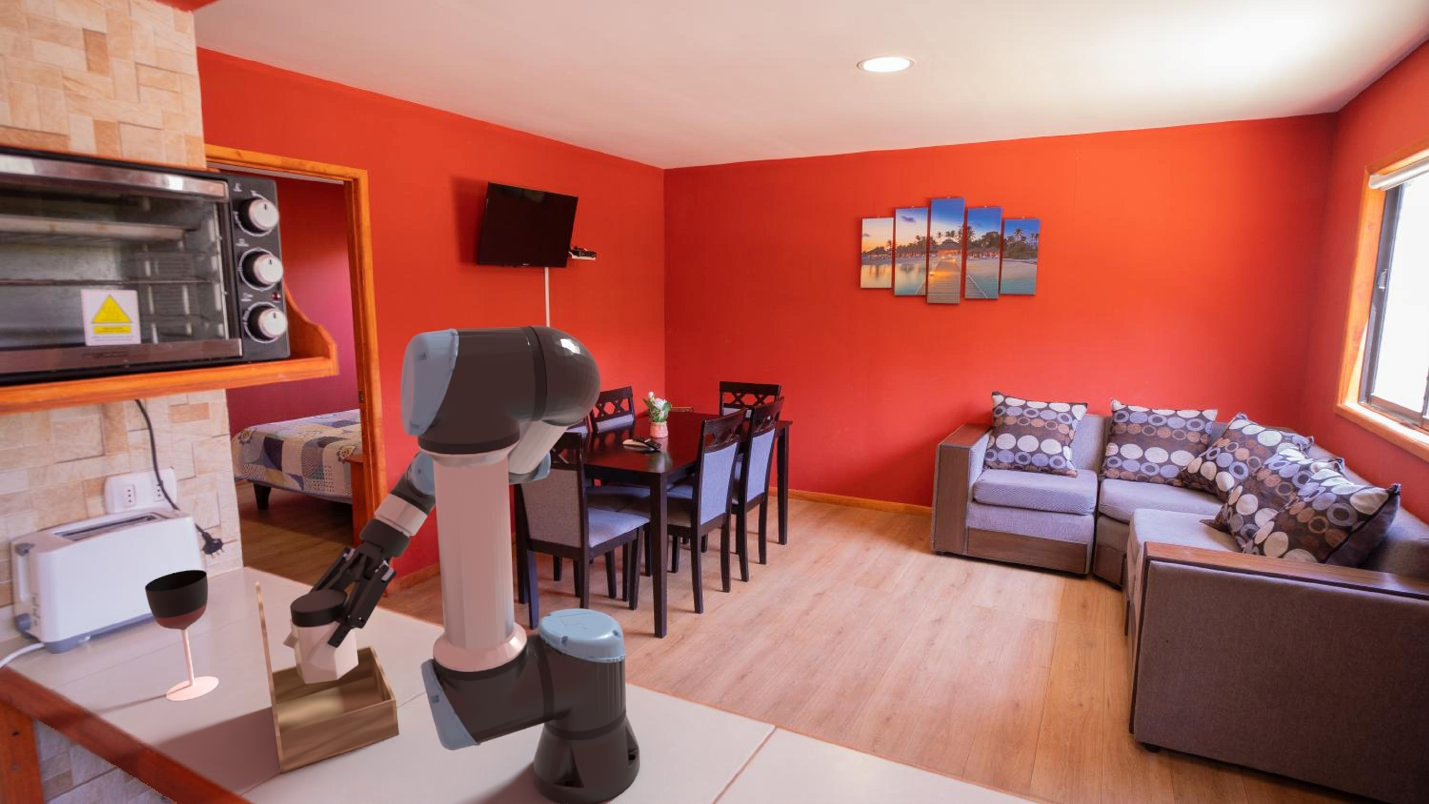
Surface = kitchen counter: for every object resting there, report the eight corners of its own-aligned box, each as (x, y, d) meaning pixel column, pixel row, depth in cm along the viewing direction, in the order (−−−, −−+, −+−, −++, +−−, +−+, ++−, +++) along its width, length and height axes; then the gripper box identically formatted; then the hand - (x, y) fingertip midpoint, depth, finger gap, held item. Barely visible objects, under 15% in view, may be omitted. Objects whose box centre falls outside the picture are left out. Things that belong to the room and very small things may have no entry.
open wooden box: (399, 734, 115) (386, 602, 110) (280, 773, 106) (262, 632, 102) (375, 676, 131) (364, 559, 127) (271, 706, 122) (255, 582, 118)
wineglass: (233, 678, 130) (218, 572, 127) (185, 706, 122) (167, 594, 118) (199, 671, 133) (184, 567, 129) (150, 698, 125) (132, 588, 121)
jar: (364, 670, 117) (356, 600, 115) (308, 691, 112) (299, 618, 109) (346, 649, 124) (338, 582, 121) (292, 668, 118) (282, 598, 116)
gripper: (442, 551, 120) (353, 686, 110) (378, 524, 132) (293, 643, 123) (409, 530, 115) (313, 669, 105) (345, 504, 127) (254, 626, 118)
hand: (302, 655), depth 114 cm, fingers closed on jar, 8 cm apart
